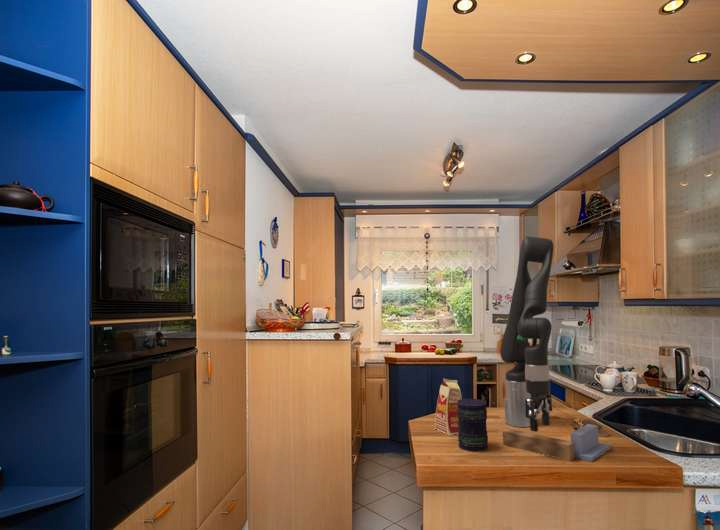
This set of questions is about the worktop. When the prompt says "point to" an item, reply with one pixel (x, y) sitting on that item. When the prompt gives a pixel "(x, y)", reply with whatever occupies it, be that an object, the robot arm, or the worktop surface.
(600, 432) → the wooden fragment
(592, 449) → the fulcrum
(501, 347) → the robot arm
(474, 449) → the storage jar
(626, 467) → the worktop surface
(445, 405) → the milk carton
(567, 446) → the beam
